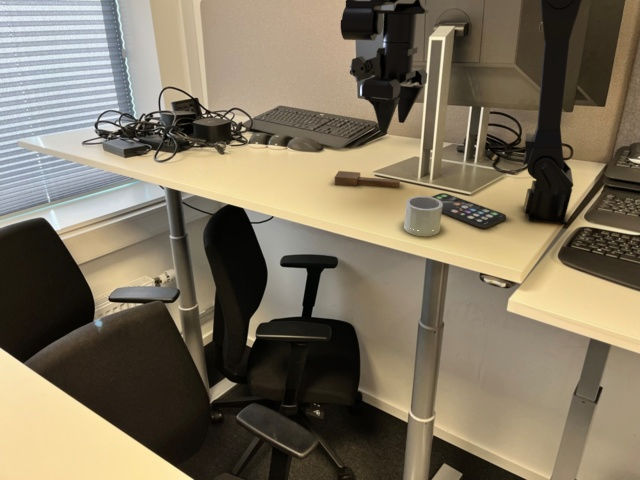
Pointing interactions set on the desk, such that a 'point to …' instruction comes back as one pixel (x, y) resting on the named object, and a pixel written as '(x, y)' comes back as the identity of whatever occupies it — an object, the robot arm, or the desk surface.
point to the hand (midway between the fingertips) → (392, 127)
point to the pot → (423, 215)
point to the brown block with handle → (363, 180)
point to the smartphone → (469, 211)
